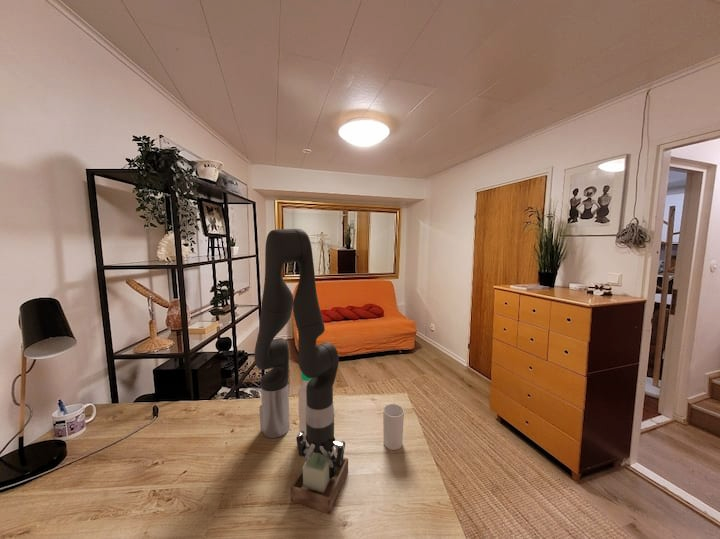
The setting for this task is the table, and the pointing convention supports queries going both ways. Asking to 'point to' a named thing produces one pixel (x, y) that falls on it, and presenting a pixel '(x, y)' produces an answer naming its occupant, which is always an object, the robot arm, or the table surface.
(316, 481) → the sage crate
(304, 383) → the water bottle
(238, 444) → the table surface
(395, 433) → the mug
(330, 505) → the walnut crate
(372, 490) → the table surface
